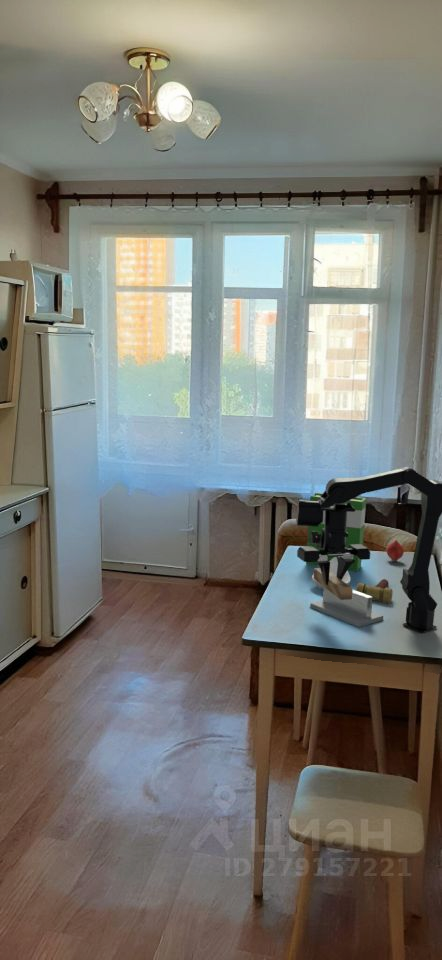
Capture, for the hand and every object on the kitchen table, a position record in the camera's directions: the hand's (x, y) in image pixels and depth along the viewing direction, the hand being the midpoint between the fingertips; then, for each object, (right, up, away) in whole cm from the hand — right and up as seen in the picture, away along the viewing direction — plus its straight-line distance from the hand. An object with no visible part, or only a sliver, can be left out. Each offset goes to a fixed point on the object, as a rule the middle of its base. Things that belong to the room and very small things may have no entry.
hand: (332, 584), depth 189 cm
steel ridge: (+5, -8, +9) cm, 13 cm away
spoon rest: (+6, -6, +36) cm, 37 cm away
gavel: (+19, -7, +30) cm, 36 cm away
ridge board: (+5, -10, +9) cm, 14 cm away
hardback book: (+9, -2, +57) cm, 57 cm away
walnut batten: (0, -1, 0) cm, 1 cm away
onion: (+32, -2, +65) cm, 72 cm away
